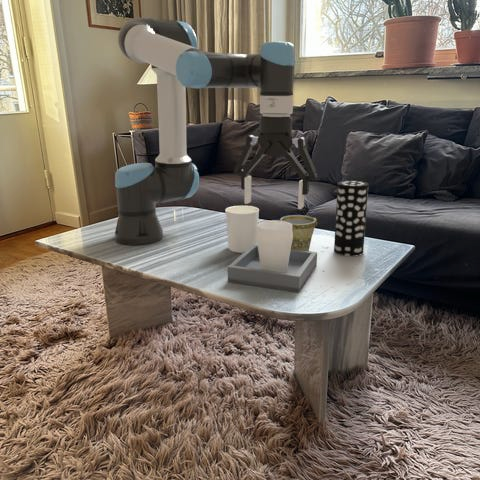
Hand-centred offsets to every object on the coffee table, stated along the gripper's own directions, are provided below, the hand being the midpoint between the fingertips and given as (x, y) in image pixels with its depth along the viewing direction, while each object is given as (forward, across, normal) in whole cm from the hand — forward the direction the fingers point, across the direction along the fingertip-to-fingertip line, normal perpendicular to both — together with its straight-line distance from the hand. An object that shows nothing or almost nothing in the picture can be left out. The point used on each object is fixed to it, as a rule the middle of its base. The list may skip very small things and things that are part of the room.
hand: (273, 205), depth 111 cm
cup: (+17, +1, 0) cm, 17 cm away
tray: (+18, +1, 0) cm, 18 cm away
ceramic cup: (+18, +3, +19) cm, 26 cm away
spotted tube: (+18, +16, +24) cm, 34 cm away
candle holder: (+19, -14, +16) cm, 28 cm away
